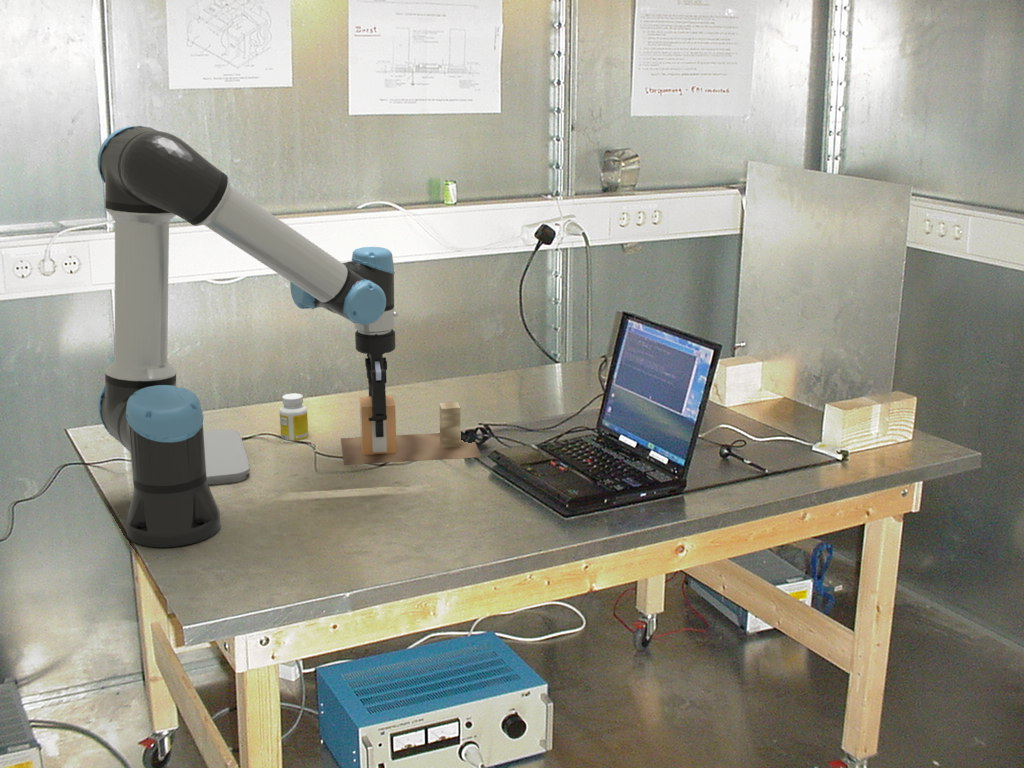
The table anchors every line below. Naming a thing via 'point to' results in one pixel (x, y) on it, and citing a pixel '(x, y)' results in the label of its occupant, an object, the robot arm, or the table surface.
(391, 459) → the walnut board
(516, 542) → the table surface
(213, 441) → the tablet
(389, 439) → the upright tan block
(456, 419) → the birch post
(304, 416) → the supplement bottle
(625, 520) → the table surface
